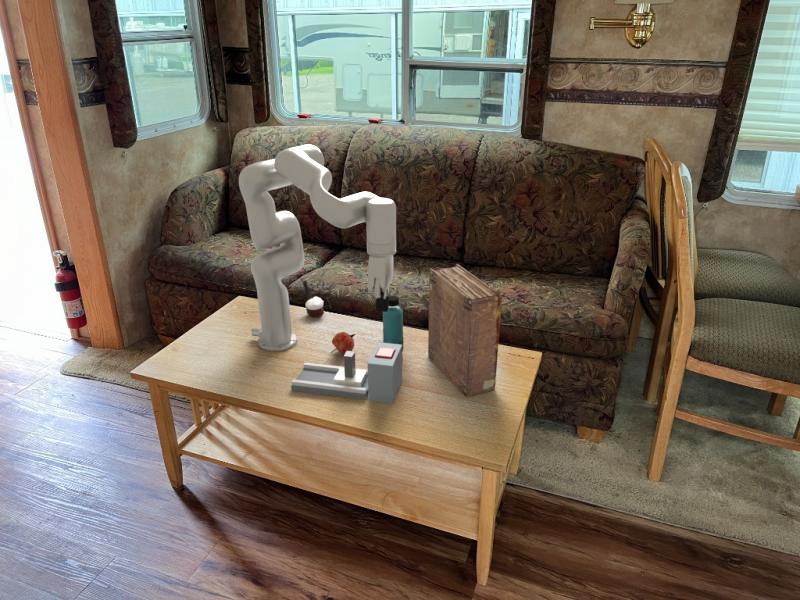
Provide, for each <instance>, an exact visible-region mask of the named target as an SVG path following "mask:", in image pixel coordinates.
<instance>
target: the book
mask: <svg viewBox="0 0 800 600" xmlns="http://www.w3.org/2000/svg"><path fill="white" fill-rule="evenodd" d="M428 275H429V279H428V280H429V281H428V282H429V283H428V284H429V286H428V297H429V298H428V332H427V333H428V339H427V340H428V342H427V343H428V345H427V349H428V350H427V356H428V358H429V359H430V360H431V361H432V362H433V363H434V364H435V366H437V368H439V370H440V371H441V372H442V373H443V374H445V376H446V377H447V378H448V379H449V380H450V381H451V382H452V383H453V384H454V385H455V386H456V387H457V389H459V391H461V392H462V394H464V396H466V397H467V398H468V397H471V396H475V395H479V394H483V393H486V392H490V391H495V389H496V381H497V366H498V356H499V344H500V343H499V342H500V327H501V314H502V303H503V296H502V294H500V293H499V292H497V291H496V290H495V289H493V288H492V287H491V286H489V285H488V284H487V283H485V282H483V281H482V280H481V279H479V278H478V277H477V276H476V275H474V274H472V273H471V272H469V270H467V269H466V268H464V267H462V266H461V265H460V264H458V263H456V264H455V266H453V267H452V266H451V267H447V268H441V269H436V270H434V268H429V274H428ZM466 397H465V398H466Z"/></svg>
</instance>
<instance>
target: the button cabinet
mask: <svg viewBox="0 0 800 600" xmlns="http://www.w3.org/2000/svg"><path fill="white" fill-rule="evenodd" d="M379 348H387V349H394V356H393V358H392V359H386V358H377V357H376V354H377V352H378V350H379ZM367 370H368V401H371V402H373V401H374V402H379V403H389V404H394V402H395V399H396V397H397V395H398V393H399V390H400V387H401V385H402V382H403V352H402V345H400V344H391V343H383V342H379V341H378V342H377V344H376V347H375V348H374V350H373V352H372V354H371V356H370V358H369V359H368V362H367Z"/></svg>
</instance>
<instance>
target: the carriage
mask: <svg viewBox="0 0 800 600" xmlns="http://www.w3.org/2000/svg"><path fill="white" fill-rule="evenodd" d="M343 367H344V368H340V369H339V371H338V373H337V374H336V376H335V378H334V384H336V385H345V386H353V387H362V385H363V383H364V381H365V379H366V377H367V371H365V370H356V368H357V367H356V351H353V350H352V351H346V353H345V355H343Z"/></svg>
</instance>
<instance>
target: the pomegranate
mask: <svg viewBox="0 0 800 600" xmlns="http://www.w3.org/2000/svg"><path fill="white" fill-rule="evenodd" d="M354 336H356V333H352V334H349V333H348V332H346V331H341V332H338V333H336V334H335V335H334V336H333V338H332V340H331V343H332V345H333V346H334V347H335V349H334V350H332V351H331V352H330V354H332V353H333V352H335V351H338V352H339V353H341V355H343V356H344V355H345V353H346V351H353V350H354V348H355V340H354V338H353V337H354Z"/></svg>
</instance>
